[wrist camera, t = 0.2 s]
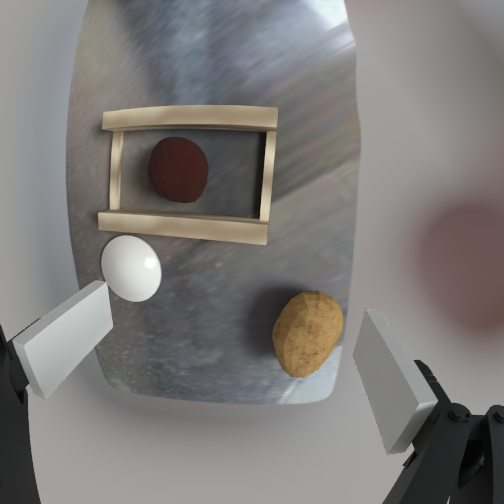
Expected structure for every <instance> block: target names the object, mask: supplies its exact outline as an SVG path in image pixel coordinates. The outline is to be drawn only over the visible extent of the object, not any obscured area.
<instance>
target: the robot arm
mask: <svg viewBox="0 0 504 504" xmlns="http://www.w3.org/2000/svg"><path fill="white" fill-rule="evenodd" d="M112 328H113V323H112V316H111V310H110V303H109V295H108V287H107V282H104V281H98V280H95V281H94V282H92V283H91V284H89V285H88V286H86V287H85V288H83V289H82V290H80V291H79V292H77V293H76V294H74V295H73V296H72V297H70V298H69V299H67V300H66V301H64V302H63V303H62V304H60V305H59V306H57V307H56V308H55V309H53V310H52V311H50V312H49V313H48V314H46V315H45V316H43V317H42V318H39V319H37V320H36V321H35V322H33V323H32V324H31V326H30V325H29V326H28V327H26V328H25V329H24V330H22V331H21V332H20V333H18V334H17V335H16V336H14V337H13V338H12V339H11V340H9V341H8V342H6V339H5V336H4V333H3V330H2V327H1V325H0V504H41V502H40V498H39V494H38V489H37V484H36V479H35V473H34V467H33V461H32V454H31V445H30V434H29V420H28V393H27V390H26V388H25V387H26V386H27V385H28V384H30V386H31V388H32V391H33V393H34V394H35V395H37V396H39V397H41V398H43V399H45V400H47V398H48V397H49V396H50V395H51V394H52V393H53V392H54V390H55V389H56V388H57V387H58V386H59V385H60V384H61V383H62V381H63V380H64V379H65V378H66V377H67V376H68V375H69V374H70V372H71V371H72V370H73V369H74V368H75V367H76V366H77V365H78V364H79V363H80V362H81V361H82V360H83V358H84V357H85V356H86V355H87V354H88V353H89V352H90V351H91V350H92V349H93V348H94V347H95V346H96V345H97V344H98V342H99V341H100V340H101V339H102V338H103V337H104V336H105V335H106V334H107V333H108V332H109V331H110V330H111V329H112ZM353 357H354V360H355V363H356V366H357V368H358V371H359V373H360V376H361V379H362V382H363V385H364V387H365V390H366V393H367V396H368V399H369V401H370V404H371V407H372V410H373V413H374V416H375V419H376V422H377V425H378V428H379V431H380V434H381V437H382V441H383V444H384V447H385V450H386V453H387V455H389V454H396V453H402V452H405V451H406V450H407V448H408V447H409V445H410V444H411V443H412V444H413V446H414V449H415V450H414V451H413V453H412V454H411V455H410V456H409V458H408V459H407V460H406V462H405V463H404V464H403V466H405V467H404V469H403V471H402V472H401V474H400V476H399V477H398V479H397V481H396V483H395V484H394V486H393V488H392V489H391V491H390V493H389V494H388V496H387V497H386V499H385V500H384V502H383V503H382V504H447V501H448V499H449V496H450V500H449V504H504V406H501V405H493V406H491V407H490V408H489V410H488V411H487V413H486V415H471V413H470V411H469V410H468V409H467V408H466V407H465V406H463V405H461V404H458V403H451V401H450V400H449V398H448V397H447V395H446V393H445V392H444V390H443V389H442V387H441V386H440V384H439V382H437V379H436V378H435V376H433V373H432V372H431V370H430V369H429V367H428V366H427V365H425V364H424V363H423V362H422V361H420V360H413V359H412V358H411V356H410V354H409V353H408V351H407V350H406V348H405V347H404V345H403V344H402V342H401V341H400V339H399V338H398V337H397V335H396V333H395V332H394V330H393V329H392V327H391V326H390V324H389V323H388V321H387V320H386V319H385V317H384V316H383V314H382V313H381V312H380V310H375V309H373V310H372V309H365V312H364V316H363V320H362V324H361V328H360V332H359V335H358V339H357V342H356V346H355V349H354V353H353Z"/></svg>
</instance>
